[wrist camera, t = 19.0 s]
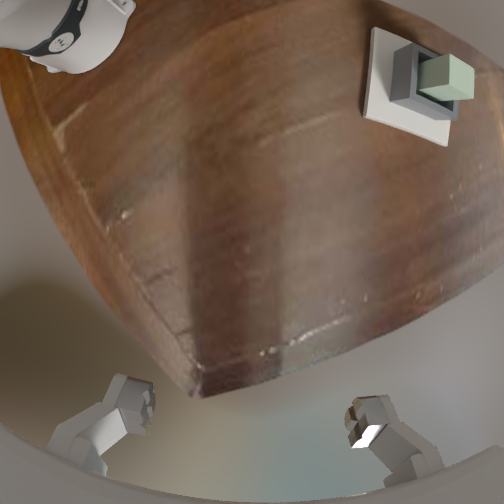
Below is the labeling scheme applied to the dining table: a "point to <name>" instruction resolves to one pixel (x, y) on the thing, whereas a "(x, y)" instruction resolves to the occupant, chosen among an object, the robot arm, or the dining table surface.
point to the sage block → (445, 79)
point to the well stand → (403, 89)
